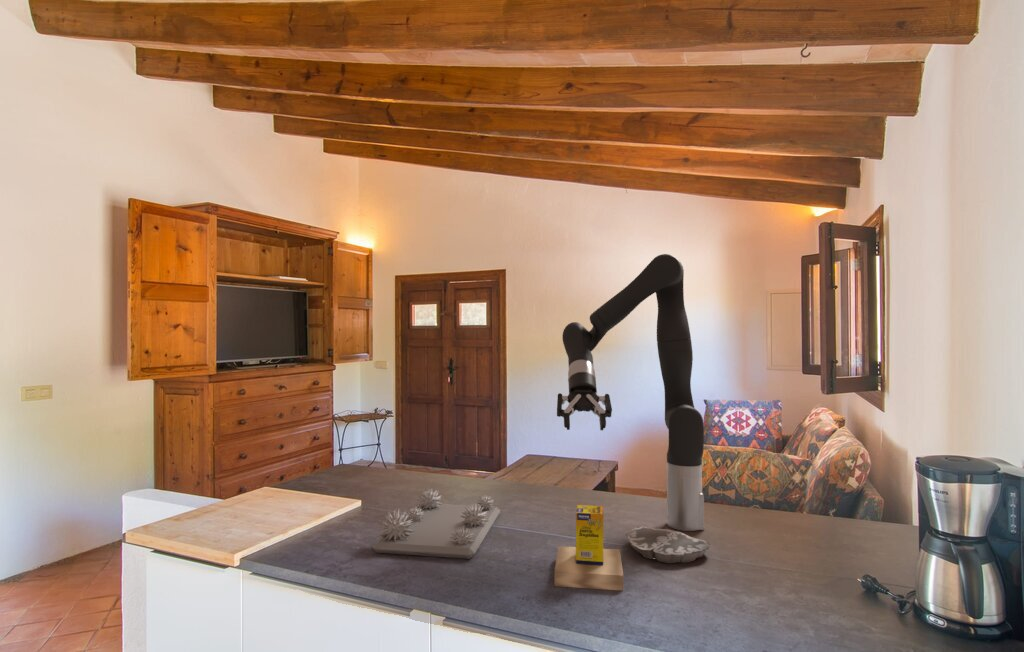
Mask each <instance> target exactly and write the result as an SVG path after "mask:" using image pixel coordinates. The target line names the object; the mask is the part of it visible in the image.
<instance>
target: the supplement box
mask: <svg viewBox="0 0 1024 652" xmlns="http://www.w3.org/2000/svg"><path fill="white" fill-rule="evenodd" d="M575 547H576V564H591V565H603V549H604V506H602V505H585V504H577V505H576V511H575Z"/></svg>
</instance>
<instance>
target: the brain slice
mask: <svg viewBox="0 0 1024 652" xmlns="http://www.w3.org/2000/svg"><path fill="white" fill-rule="evenodd" d="M625 535H626V539H627V541H628V542H629V545H630V546H631V547H632V549H634V550H635V551H636V552H638V553H639V554H641V555H642V557H644V556H645V557H644V558H646V557H648V558H647V559H650V558H651V560H654V559H653V558H656V559H655V560H656V561H657V560H658V561H657V562H659V561H661V562H660V563H665V562H671V563H670V564H676V562H678V563H681V562H685V563H691V561H692V562H694V561H695V560H696V559H699V557H700V558H702V557H703V556H704V554H705V553H706V552H707V551H708V550H709V549H710V545H711V544H710V543H709V542H708V541H706V540H703V539H700V538H695V537H691V536H690V535H688V534H685V533H683V532H681V531H675V530H673V529H668V528H667V529H665V528H653V527H649V526H637V527H635V528H632V529H630V530H628V531H627V532H626V533H625Z"/></svg>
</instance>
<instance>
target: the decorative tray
mask: <svg viewBox="0 0 1024 652" xmlns="http://www.w3.org/2000/svg"><path fill="white" fill-rule="evenodd" d="M427 490H428V491H426V489H425V491H424V490H422V491H421V493H422V495H421V496H420V495H418V498H420V499H417V501H418V502H419V504H417V505H416V507H413V508H412V507H411V508H409V509H408V512H407V509H406V511H405V512H402V511H401V513H400V509H398V510H396V509H394V510H393V515H392V514H391V512H390V511H389V510H388V512H386V514H385V513H383V515H384V520H380V519H378V521H379V522H380V525H377V527H378V528H381V529H380V530H379V531H380V532H377V533H376V535H378V534H379V535H378V536H377V537H379V540H378V541H377V542H376V543H375V544H374V545H373V546H372V547H371V548H372V549H374V550H373V551H375V552H376V553H378V554H394V555H395V554H396V555H408V556H409V555H411V556H425V557H436V558H437V557H439V558H452V559H453V558H455V559H468V560H469V559H471V558H472V557H473V556H475V554H476V552H477V551H478V549H479V547H480V546H481V544H482V543H483V541H484V540H485V537H486V536H487V534H488V533H489V531H490V530H491V528H492V526H493V525H494V523H495V522H496V520H497V518H498V517H499V515H500V513H501V511H502V510H501V509H499V507H497V506H495V505H494V504H493V503H494V499H492V497H491V496H490V495H489V496H487V494H485V495H482V496H481V497H479V499H477V501H478V502H475V503H473V504H471V505H470V504H469V505H468V504H450V503H449V504H448V503H442V502H441V500H444V499H445V498H444V497H443V494H441V495H439V496H438V494H439V493H440V492H439V491H440V490H437V489H436V490H434V491H433V488H429V489H427ZM477 504H478V505H477Z"/></svg>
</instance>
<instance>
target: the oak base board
mask: <svg viewBox="0 0 1024 652" xmlns="http://www.w3.org/2000/svg"><path fill="white" fill-rule="evenodd" d="M556 554H557V555H556V559H555V566H554V587H565V588H567V587H568V588H576V589H577V588H578V589H579V588H580V589H595V590H609V591H622V592H623V591H624V571H623V564H622V556H621V550H620V549H616V548H603V565H591V564H576V546H563V545H558V548H557V553H556Z"/></svg>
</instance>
